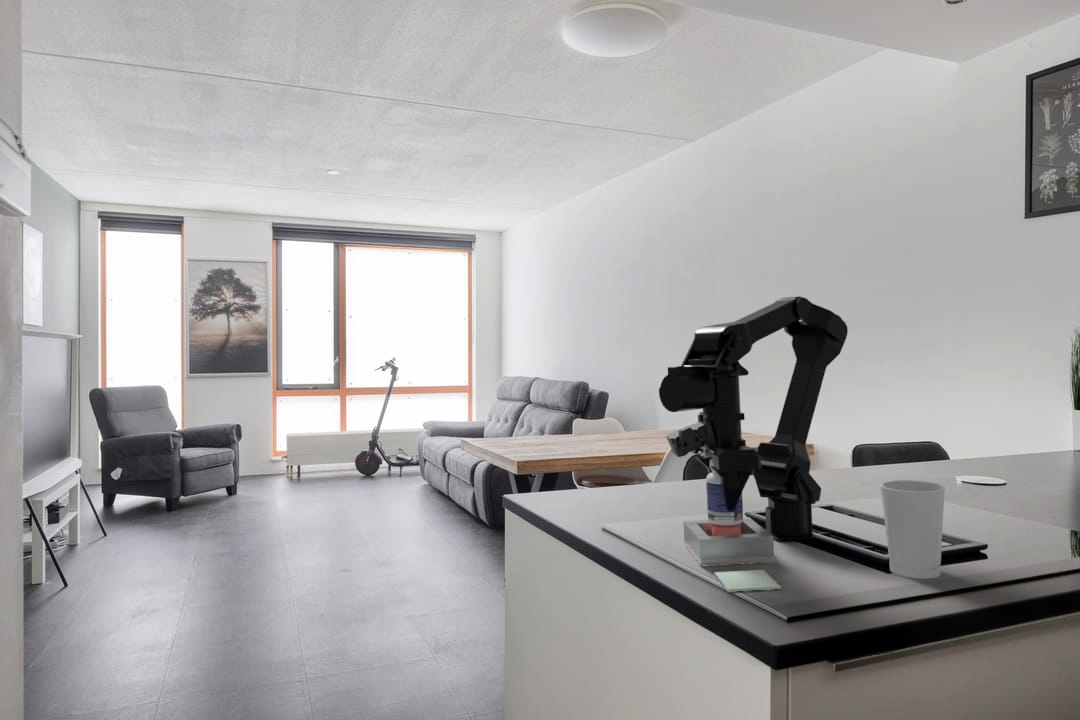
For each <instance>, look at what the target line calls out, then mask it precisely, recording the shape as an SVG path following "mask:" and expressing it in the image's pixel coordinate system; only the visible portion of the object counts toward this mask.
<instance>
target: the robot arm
mask: <svg viewBox="0 0 1080 720" xmlns="http://www.w3.org/2000/svg"><path fill="white" fill-rule="evenodd" d="M782 329H784V333H786V334H787V335H788V336H790V337H791V338H792V340H791V347H792V349H793V352H794V356H795V358H796V361H795V364H794V367H793V372H792V374H791V375H792V376H791V378H790V382H789V386H788V389H787V393H786V396H785V399H784V402H783V403H784V404H783V407H782V410H781V413H780V417H779V422H778V425H777V429H776V432H775V435H774V437H773V438H772V439H771V440H770V441H769V442H763V441H761V442H760V443H759V444H758V446H757V450H756V449H755V448H752V447H751V446H748V445H747V444H746V439H744V438H742V421H745V420H746V418H745V413H744V412H742V411H741V398H740V397H741V396H740V395H741V393H740V377H743V376H744V377H745V376H748V375H749V370H747V368H745V367H744V366H743V365H741V363H740V362H739V361H740V360H741V359H743V358H744V357H745V356H746V355H747V354H749V353H750V352H751V351H752V347H753V345H754V344H756V342H758V341H760V340H763V339H764V338H766V337H769V336H770V335H772V334H775V333H777V332H778V331H781V330H782ZM848 330H849V329H848V326H847V323H846V322H845V320H843V318H842V317H841V316H840V315H838V314H836V313H835V312H833V311H832V310H830V309H827V308H825V307H822V306H820V305H817V304H815V303H812V302H811V301H810V300H809V299H808V298H806V297H803V296H800V295H799V296H790V297H781V298H779V299H776V301H774V302H773V303H771V304H769V305H766V306H764V307H762V308H761V309H758V310H756V311H754V312H752V313H749V314H747V315H745V316H743V317H741V318H739V319H737V320H735V321H731V322H726V323H719V324H712V325H708V326H702V327H700V328H699V329H696V331H695V333H694V338H693V340H692V343H691V344H690V346H689V348H688V351H687V353H686V355H685V357H684V359H683V361H682V364H680V366H679V365H675V366H674V365H673V366H672V365H671V366H668V367H667V375H665V376H664V377H663V378H662V380H661V383H660V387H659V388H658V395H659V396H658V397H659V400H660V402H661V405H662V406H663V407H664V408H665V409H666V410H667V411H668V412H671V413H677V412H678V413H679V412H687V411H693V410H702V411H699V414H697V422H695V423H692V424H689V425H687V426H684V427H682V428H680V429H676V430H675V431H673V432H672V431H671V432H670V433H667V434H666V435H665V436H666V439H667V441H668V444H669V447H670V449H671V451H672V453H673V455H675V456H676V457H677V458H682V457H684V456H687V455H688V453H692V454H693V455H694V454H695V455H696V454H697V455H696V456H695V458H696V459H697V460H698V461H699V462H700V463H702V465H703V466H705V467H706V469H707V472H708V474H710V473H711V472H712V470H714V471H715V472H716V473H717V474H718V475H719V476H720V479H721V484H722V489H723V494H724V499H725V504H726V508H727V510H735V508H736V505H737V503H738V501H739V498H740V496H741V494H742V495H743V492H744V491H743V490H744V489H745V486H746V484H747V482H748V480H749V479H750V477H751V475H753V476H752V477H753V478H754V480H755V484H756V487H757V491H758V494H759V496H760V498H766V499H767V505H768V506H766V507H765V509H764V510H765V512H764V513H765V530H766V531H767V532H769V533H770V534H771V535H772V536H773V539H775V540H776V541H778V542H783V541H787V542H788V541H805V540H817V539H818V536H817V535H816V534H815V533H813V514H812V512H813V511H812V509H813V508H812V505H814V504H816V502H820V499H821V493H822V488H821V486H820V485H819V484H818V483H817V481H816V480H815V479H814V477H813V476H812V474H810V469H811V459H810V456H809V454H808V451H807V447H806V445H807V440H808V436H809V432H810V429H811V425H812V422H813V418H814V415H815V410H816V406H817V402H818V399H819V396H820V393H821V392H820V391H821V390H822V389H821V388H822V384H823V381H824V377H825V373H826V369H827V367H828V366H829V365H830V364H831V363H832V362H834V360H835V359H836V358H837V357H839V356H840V354H841V353H842V350H843V348H844V345H845V342H846V340H847V337H848ZM699 452H700V455H698V454H699ZM712 459H713V464H714V466H710V460H712ZM710 467H711V469H712V470H711V469H710ZM752 472H753V474H752Z"/></svg>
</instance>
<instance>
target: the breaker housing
mask: <svg viewBox="0 0 1080 720" xmlns="http://www.w3.org/2000/svg"><path fill="white" fill-rule="evenodd" d="M740 524H741V535H720V536H712V523H710V522H709V521H708V519H704V520H684V521H683V539H684V541H683V543H684V547H685V546H686V547H687V548H688V549H687V548H686V547H685V548H686V549H687V550H689V551H690V552H691V553H692V555H693V556H694V557H695V558H694V557H693V556H692V555H691V556H692V557H693V558H694V560H695V559H696V560H697V561H698V562H699V564H700V565H721V564H722V566H725V565H724V564H741V563H742V565H746V564H745V563H762V564H774V563H775V550H774V549H775V545H774V542H775V541H774V537H773V536H772V535H771V534H770V533H769V532H767V531H766V528H764V527H762V526H761V525H759V524H758V523H757V522H756V521H755V520H754V519H752V518H750V517H747V518H746V517H745V518H744V517H743V522H742V523H740ZM689 551H688V552H689ZM690 552H689V553H690ZM691 553H690V554H691ZM696 560H695V561H696ZM697 561H696V562H697ZM698 562H697V563H698ZM770 562H771V563H770ZM743 563H744V564H743ZM699 564H698V565H699ZM700 565H699V566H700Z"/></svg>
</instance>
